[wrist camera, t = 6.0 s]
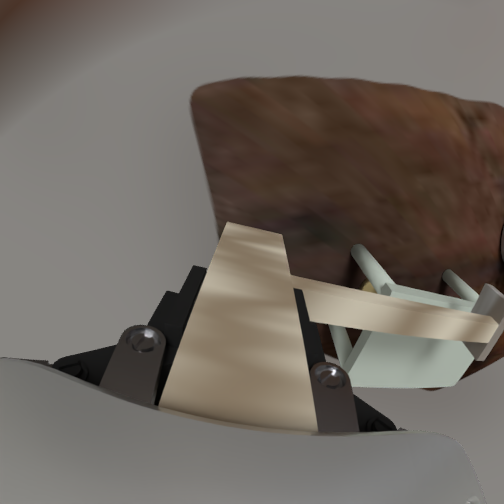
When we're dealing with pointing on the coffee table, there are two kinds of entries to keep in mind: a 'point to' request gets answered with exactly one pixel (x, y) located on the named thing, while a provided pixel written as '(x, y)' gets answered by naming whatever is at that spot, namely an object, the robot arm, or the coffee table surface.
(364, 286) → the token
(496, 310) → the hoe
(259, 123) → the coffee table surface
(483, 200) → the coffee table surface
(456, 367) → the stand
